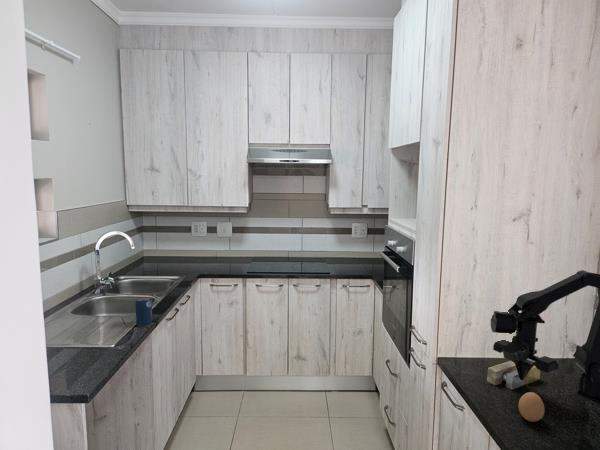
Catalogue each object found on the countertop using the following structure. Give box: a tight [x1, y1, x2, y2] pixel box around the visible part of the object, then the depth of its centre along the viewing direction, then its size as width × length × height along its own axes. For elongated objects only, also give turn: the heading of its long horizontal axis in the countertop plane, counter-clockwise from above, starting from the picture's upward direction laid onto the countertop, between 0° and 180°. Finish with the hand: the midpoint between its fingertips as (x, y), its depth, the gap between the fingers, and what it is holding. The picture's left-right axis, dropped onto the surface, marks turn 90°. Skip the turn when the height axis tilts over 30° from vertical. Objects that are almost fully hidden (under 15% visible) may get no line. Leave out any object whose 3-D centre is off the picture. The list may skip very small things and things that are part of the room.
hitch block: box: [486, 360, 517, 386], centre depth 139 cm, size 3×12×5 cm, turn 118°
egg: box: [518, 391, 545, 423], centre depth 116 cm, size 6×6×8 cm
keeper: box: [525, 366, 541, 385], centre depth 138 cm, size 1×7×5 cm, turn 118°
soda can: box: [134, 296, 153, 328], centre depth 183 cm, size 7×7×12 cm
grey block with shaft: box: [502, 371, 525, 391], centre depth 138 cm, size 9×7×5 cm
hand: (521, 379), depth 133 cm, fingers closed
